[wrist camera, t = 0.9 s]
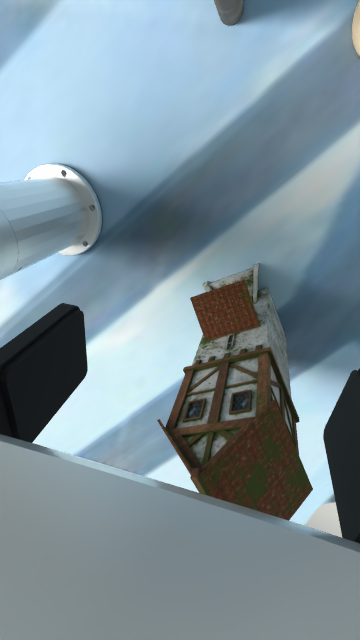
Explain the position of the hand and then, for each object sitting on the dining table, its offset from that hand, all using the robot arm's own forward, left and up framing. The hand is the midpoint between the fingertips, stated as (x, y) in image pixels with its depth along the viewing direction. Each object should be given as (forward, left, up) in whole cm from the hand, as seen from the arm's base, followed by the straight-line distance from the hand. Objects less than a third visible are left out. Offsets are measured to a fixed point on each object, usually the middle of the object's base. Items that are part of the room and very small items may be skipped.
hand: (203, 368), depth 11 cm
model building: (-2, -14, -33) cm, 36 cm away
